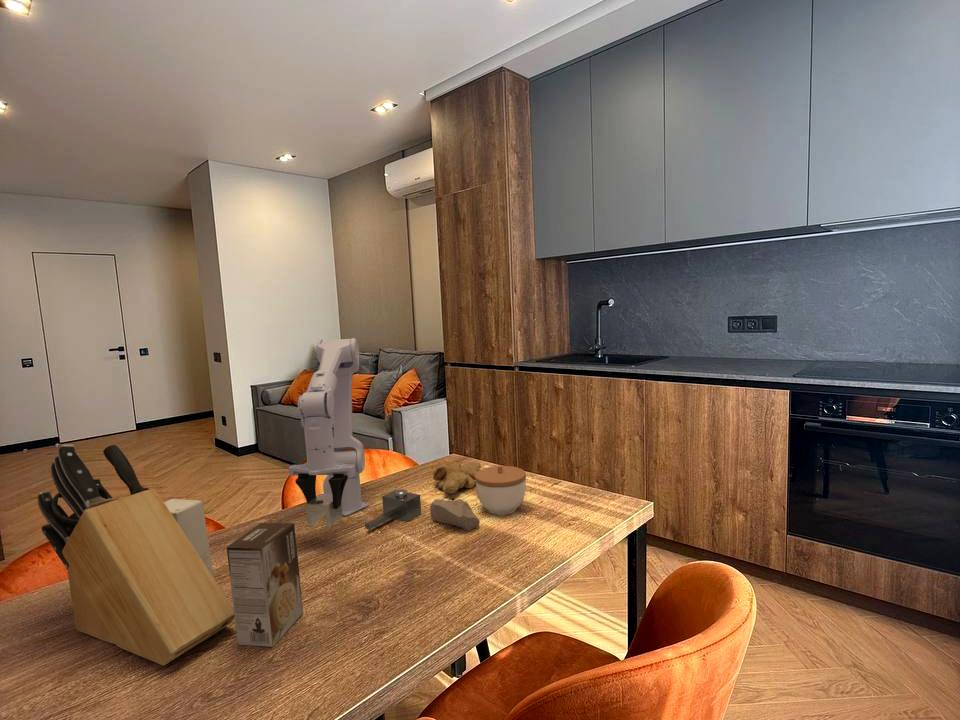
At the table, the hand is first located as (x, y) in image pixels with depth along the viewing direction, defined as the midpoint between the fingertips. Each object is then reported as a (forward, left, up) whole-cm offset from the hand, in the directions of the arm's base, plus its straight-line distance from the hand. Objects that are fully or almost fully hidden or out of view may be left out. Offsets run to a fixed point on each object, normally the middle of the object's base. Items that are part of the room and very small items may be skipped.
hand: (325, 506), depth 112 cm
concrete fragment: (+18, +22, -9) cm, 30 cm away
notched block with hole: (0, 0, -3) cm, 3 cm away
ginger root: (+3, +42, -9) cm, 43 cm away
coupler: (+4, +15, -8) cm, 18 cm away
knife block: (-4, -36, -9) cm, 37 cm away
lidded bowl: (+24, +34, -9) cm, 42 cm away
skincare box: (-12, -25, -9) cm, 29 cm away
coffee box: (+17, -25, -9) cm, 31 cm away
